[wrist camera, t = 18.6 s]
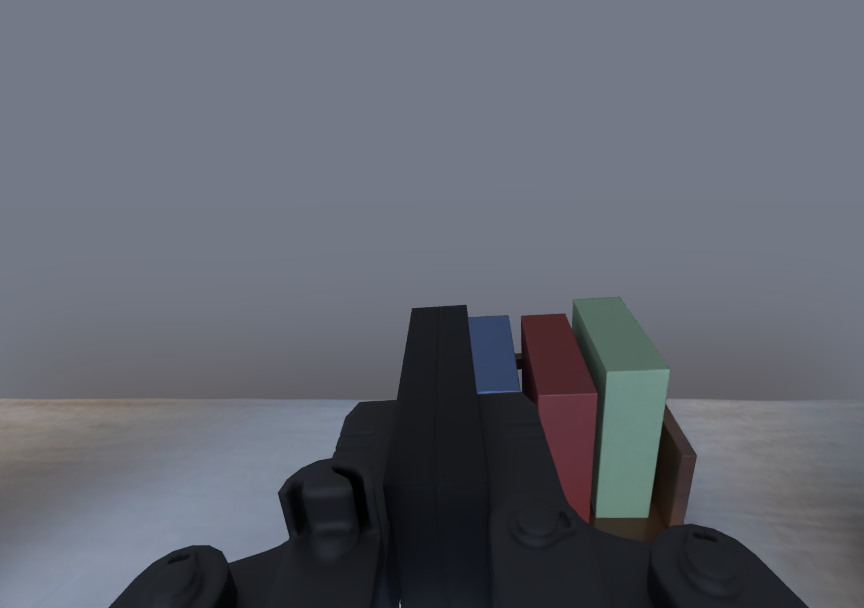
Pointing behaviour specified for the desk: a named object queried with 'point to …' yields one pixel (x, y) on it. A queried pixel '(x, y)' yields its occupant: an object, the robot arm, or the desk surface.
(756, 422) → the desk surface
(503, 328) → the blue book
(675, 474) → the book rack
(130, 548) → the desk surface
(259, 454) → the desk surface
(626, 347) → the sage book
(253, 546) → the desk surface
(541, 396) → the shelf books
